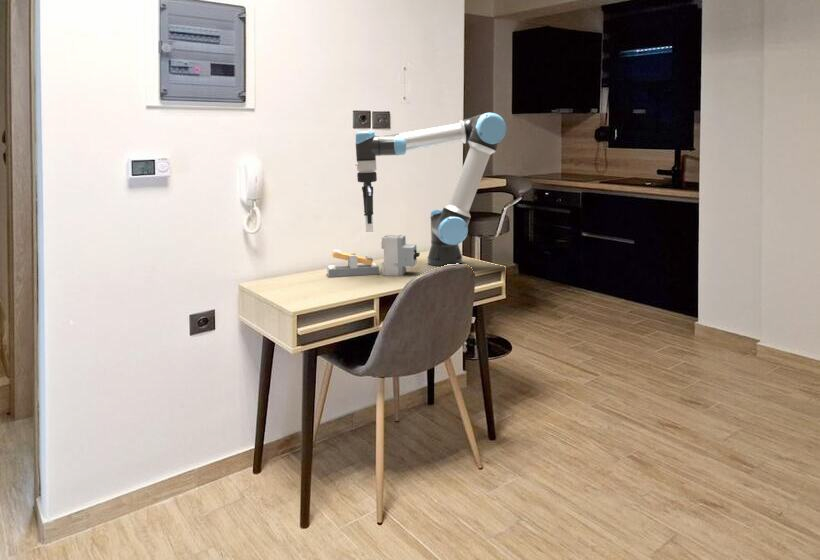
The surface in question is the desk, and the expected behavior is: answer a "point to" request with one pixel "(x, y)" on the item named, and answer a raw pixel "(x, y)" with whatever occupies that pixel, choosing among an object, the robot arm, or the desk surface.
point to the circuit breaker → (397, 255)
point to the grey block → (352, 268)
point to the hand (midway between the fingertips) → (369, 231)
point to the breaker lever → (346, 256)
